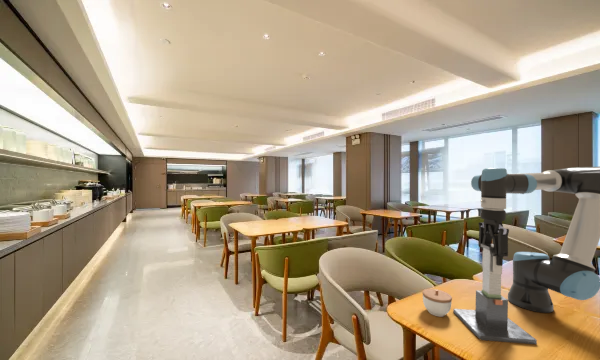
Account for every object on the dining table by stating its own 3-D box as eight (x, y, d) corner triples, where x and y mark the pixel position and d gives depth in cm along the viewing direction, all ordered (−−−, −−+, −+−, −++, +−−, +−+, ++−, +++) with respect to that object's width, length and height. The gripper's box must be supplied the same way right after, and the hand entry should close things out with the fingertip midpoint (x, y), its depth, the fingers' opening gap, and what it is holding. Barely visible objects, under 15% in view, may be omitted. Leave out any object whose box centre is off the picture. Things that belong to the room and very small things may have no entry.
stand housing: (499, 315, 102) (500, 286, 102) (536, 344, 85) (537, 308, 85) (453, 312, 104) (454, 283, 104) (479, 339, 86) (480, 305, 86)
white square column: (494, 298, 97) (495, 244, 97) (503, 305, 92) (504, 247, 91) (479, 297, 97) (480, 243, 97) (488, 304, 92) (489, 247, 92)
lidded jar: (456, 321, 98) (456, 297, 98) (426, 318, 100) (426, 294, 100) (445, 307, 108) (446, 286, 108) (419, 304, 110) (419, 283, 110)
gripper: (468, 206, 104) (467, 261, 104) (499, 212, 85) (497, 279, 86) (488, 206, 103) (486, 262, 103) (523, 212, 85) (521, 281, 85)
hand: (491, 270), depth 94 cm, fingers open, 5 cm apart
